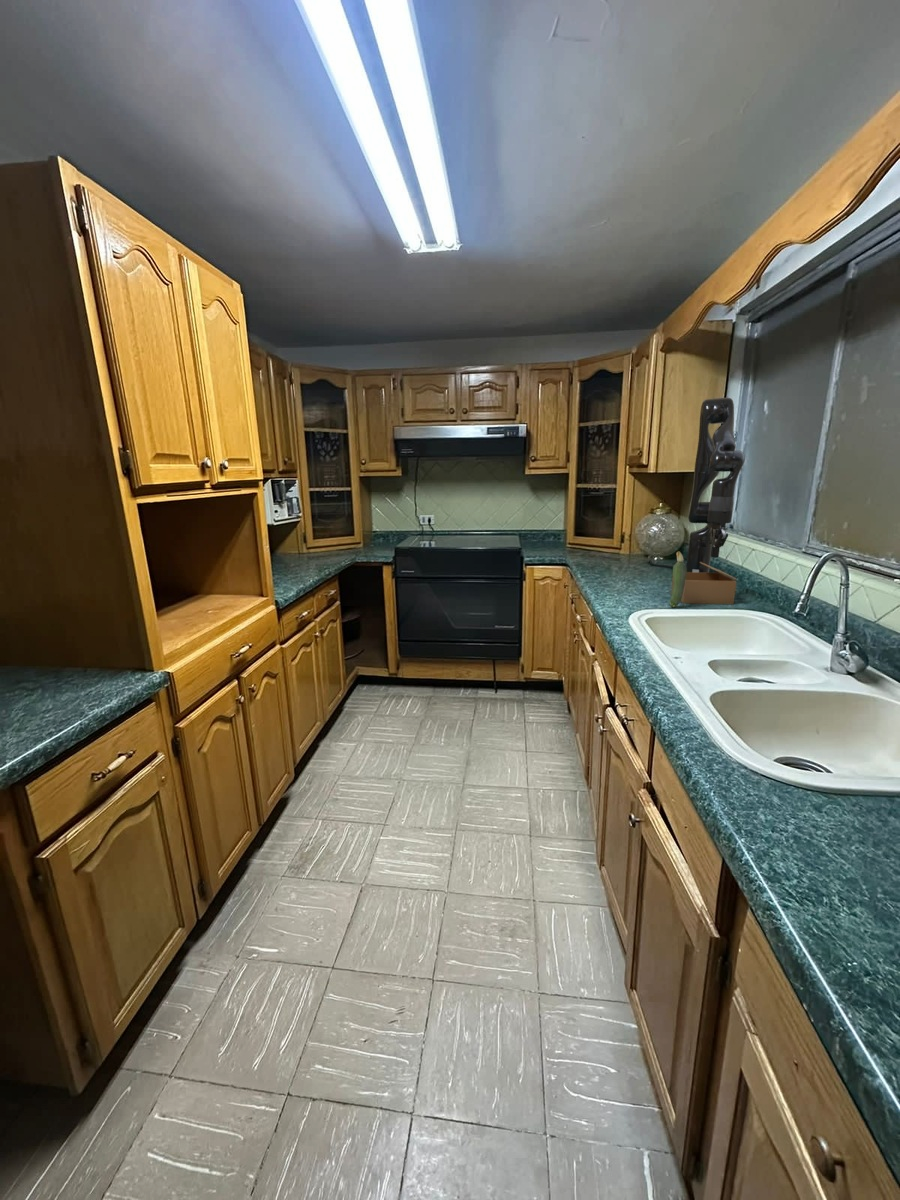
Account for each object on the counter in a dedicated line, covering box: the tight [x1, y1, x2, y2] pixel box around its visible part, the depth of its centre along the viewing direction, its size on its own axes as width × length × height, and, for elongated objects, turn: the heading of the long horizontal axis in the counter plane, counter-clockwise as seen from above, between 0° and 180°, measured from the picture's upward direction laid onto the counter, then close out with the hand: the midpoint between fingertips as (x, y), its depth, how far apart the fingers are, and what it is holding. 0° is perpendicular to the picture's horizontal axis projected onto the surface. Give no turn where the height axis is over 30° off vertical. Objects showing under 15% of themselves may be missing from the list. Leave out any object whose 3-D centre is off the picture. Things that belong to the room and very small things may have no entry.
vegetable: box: [669, 550, 687, 608], centre depth 166 cm, size 4×4×20 cm
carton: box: [670, 572, 738, 605], centre depth 179 cm, size 15×17×8 cm
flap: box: [700, 562, 738, 581], centre depth 177 cm, size 15×8×1 cm, turn 172°
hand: (714, 557), depth 176 cm, fingers closed
